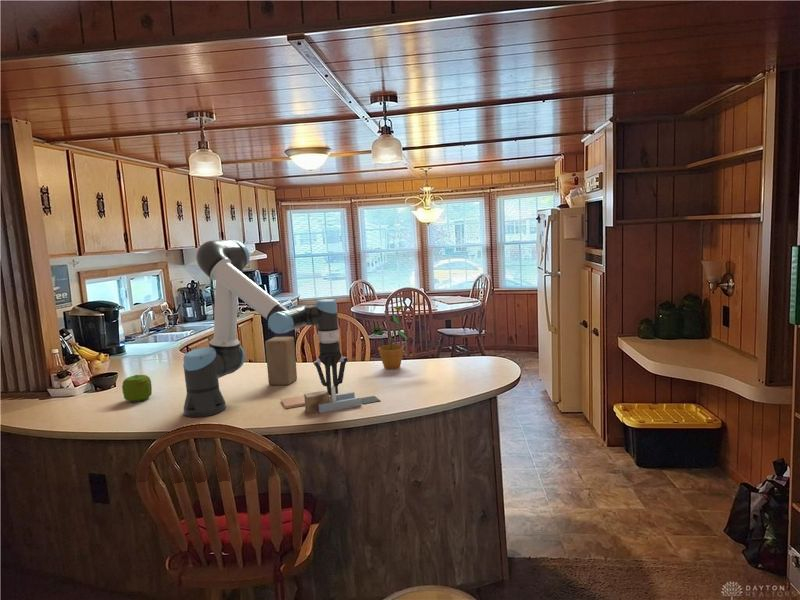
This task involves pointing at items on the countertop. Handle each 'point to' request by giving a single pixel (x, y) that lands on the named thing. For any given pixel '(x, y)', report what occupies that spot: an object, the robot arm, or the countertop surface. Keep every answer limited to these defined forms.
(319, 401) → the block
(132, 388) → the green rounded cube
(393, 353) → the potted plant
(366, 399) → the trap mat
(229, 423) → the countertop surface
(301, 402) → the tile
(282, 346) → the wooden block
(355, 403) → the channel
